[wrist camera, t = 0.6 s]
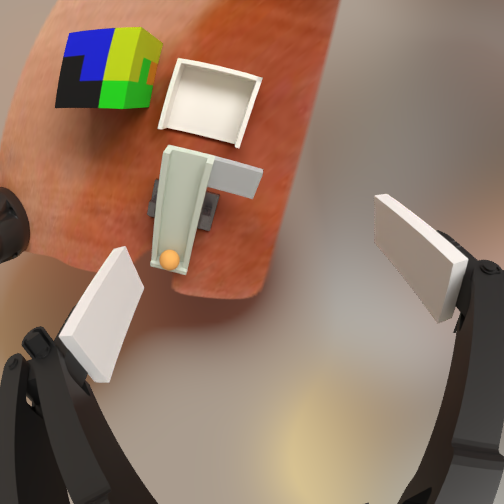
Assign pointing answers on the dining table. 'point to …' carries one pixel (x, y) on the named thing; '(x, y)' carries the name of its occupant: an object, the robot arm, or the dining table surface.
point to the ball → (169, 260)
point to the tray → (209, 101)
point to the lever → (192, 197)
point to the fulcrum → (206, 210)
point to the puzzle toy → (108, 69)
